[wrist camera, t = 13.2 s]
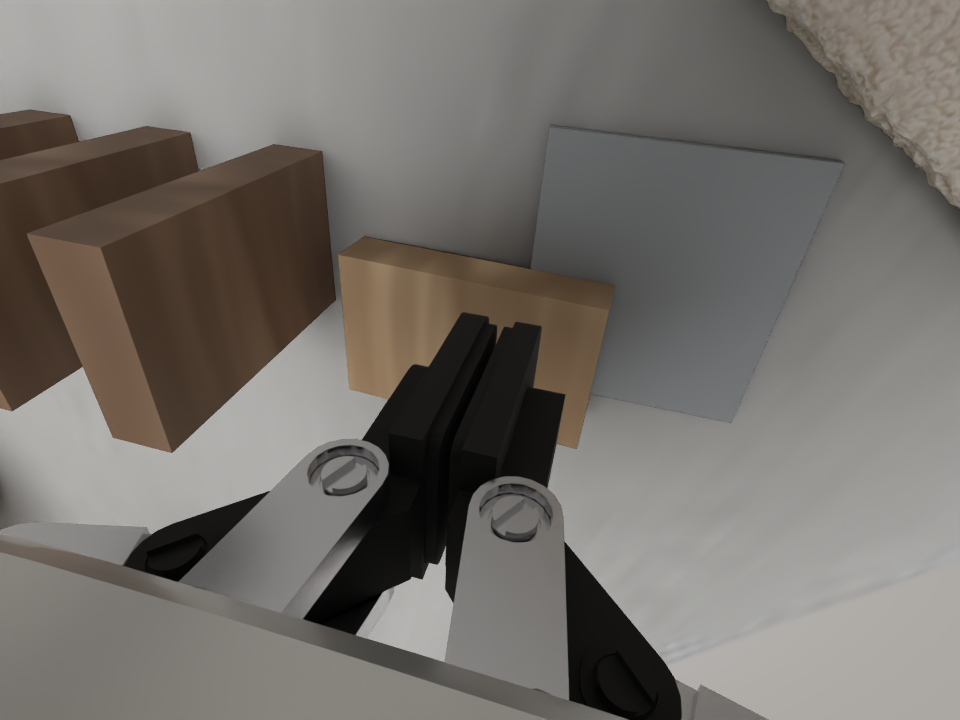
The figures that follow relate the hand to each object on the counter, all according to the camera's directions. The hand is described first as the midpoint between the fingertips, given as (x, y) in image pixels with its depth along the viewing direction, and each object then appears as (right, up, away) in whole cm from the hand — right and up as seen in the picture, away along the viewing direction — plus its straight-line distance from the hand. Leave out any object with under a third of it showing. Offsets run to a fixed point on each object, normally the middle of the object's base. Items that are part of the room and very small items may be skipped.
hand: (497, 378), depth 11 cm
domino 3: (+3, 0, +5) cm, 6 cm away
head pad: (+5, +3, +4) cm, 7 cm away
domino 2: (-6, +5, +6) cm, 10 cm away
